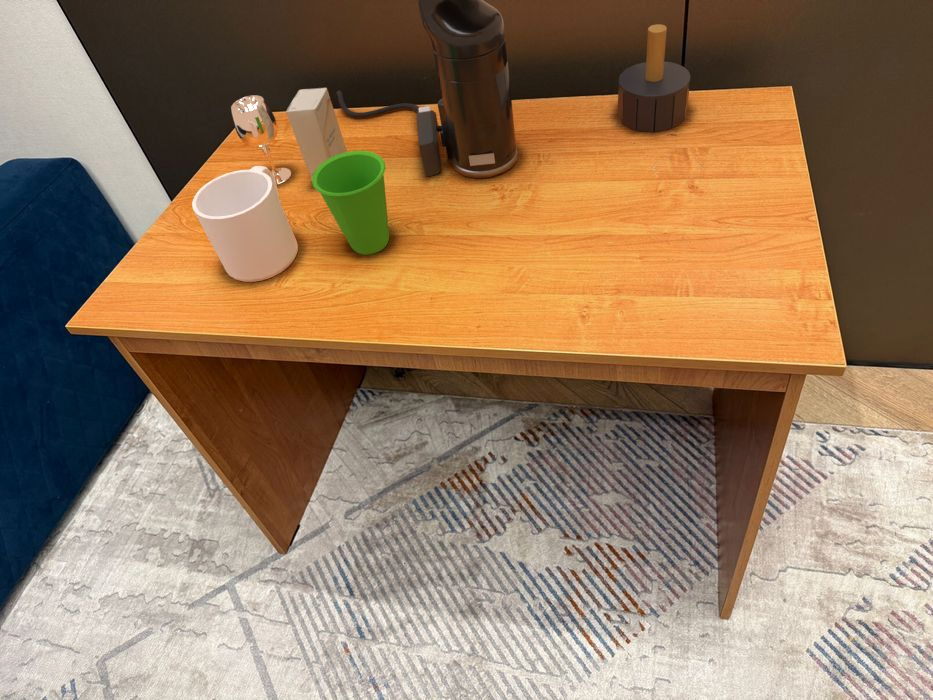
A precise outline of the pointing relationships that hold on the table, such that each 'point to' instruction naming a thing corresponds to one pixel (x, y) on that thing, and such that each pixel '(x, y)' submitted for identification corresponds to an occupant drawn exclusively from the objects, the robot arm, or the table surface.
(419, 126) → the usb drive
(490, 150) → the robot arm
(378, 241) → the cup
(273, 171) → the wineglass
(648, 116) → the gray cylinder with peg
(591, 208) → the table surface
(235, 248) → the mug
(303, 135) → the cosmetic box
